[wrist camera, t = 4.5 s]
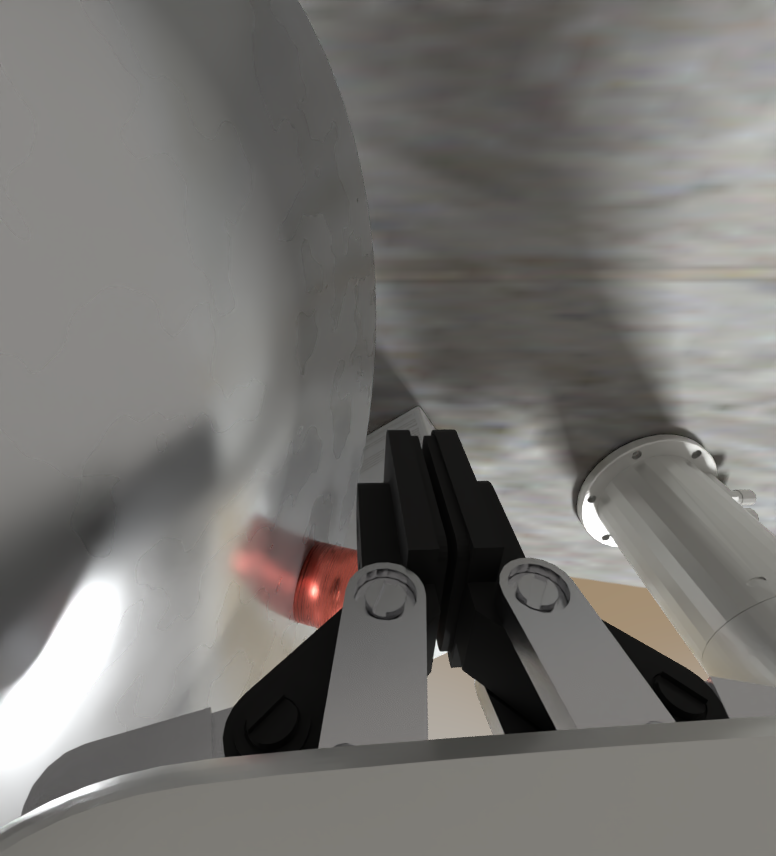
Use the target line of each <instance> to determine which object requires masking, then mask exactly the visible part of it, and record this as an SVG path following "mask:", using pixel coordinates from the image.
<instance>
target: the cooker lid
mask: <svg viewBox="0 0 776 856" xmlns="http://www.w3.org/2000/svg"><path fill="white" fill-rule="evenodd" d="M375 341H376V292H375V269H374V255H373V243H372V234H371V226H370V217H369V210H368V204H367V198H366V192H365V186H364V180H363V175H362V171H361V166H360V162H359V158H358V153H357V149H356V145H355V140H354V137H353V133H352V130H351V127H350V123H349V120H348V116H347V113H346V110H345V106H344V103H343V100H342V97H341V94H340V92H339V89H338V86H337V84H336V81H335V78H334V76H333V73H332V70H331V68H330V65H329V62H328V60H327V58H326V55H325V53H324V51H323V49H322V47H321V45H320V43H319V41H318V38H317V36H316V34H315V32H314V30H313V28H312V26H311V24H310V22H309V19H308V17H307V15H306V13H305V12H304V10H303V8H302V7H301V5H300V3H299V2H298V0H0V828H2V827H3V826H5V825H6V824H8V823H10V822H11V821H13V820H15V819H17V818H19V817H21V813H22V809H23V806H24V804H25V801H26V799H27V797H28V795H29V792H30V790H31V788H32V786H33V784H34V783H35V782H36V781H37V779H38V778H39V777H40V776H41V774H42V773H43V772H44V771H45V769H46V768H47V767H48V766H49V765H50V764H52V763H53V762H54V761H56V760H57V759H58V758H59V757H61V756H62V755H63V754H64V753H66V752H68V751H70V750H72V749H74V748H77V747H79V746H81V745H83V744H86V743H89V742H93V741H96V740H100V739H103V738H106V737H110V736H113V735H117V734H120V733H124V732H127V731H130V730H134V729H137V728H141V727H144V726H148V725H151V724H154V723H158V722H161V721H165V720H168V719H172V718H175V717H178V716H182V715H185V714H189V713H192V712H196V711H199V710H202V709H206V708H209V707H211V710H212V713H214V712H217V711H220V710H224V709H227V708H231V707H233V706H234V705H235V704H236V703H237V702H238V701H239V700H240V698H241V697H242V696H243V695H244V694H245V693H246V692H247V691H248V690H250V689H251V688H252V687H253V686H254V685H255V684H256V683H257V682H259V681H260V680H261V679H262V678H263V677H264V676H265V675H267V674H268V673H269V672H270V671H271V670H272V669H273V668H274V667H276V666H277V665H278V664H279V663H280V662H281V661H282V660H284V659H285V658H286V657H287V656H288V655H289V654H290V653H291V652H293V651H294V650H295V649H296V648H297V647H298V646H299V645H301V644H302V643H303V642H304V641H305V640H306V639H307V638H308V637H310V636H311V635H312V634H313V633H314V632H315V630H316V628H320V627H321V626H322V625H323V624H324V623H325V622H327V621H328V620H329V619H330V618H331V617H332V616H333V615H334V614H336V613H337V612H338V611H339V610H340V609H341V608H342V607H343V602H344V596H345V590H346V587H347V585H348V582H349V580H350V578H351V577H352V576H353V575H354V574H355V573H356V572H357V571H358V561H357V550H355V549H350V548H346V547H343V544H344V541H345V537H346V533H347V529H348V525H349V521H350V517H351V513H352V509H353V505H354V500H355V496H356V491H357V483H358V482H359V477H360V472H361V466H362V461H363V456H364V450H365V443H366V437H367V430H368V423H369V415H370V407H371V398H372V387H373V376H374V361H375Z"/></svg>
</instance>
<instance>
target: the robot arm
mask: <svg viewBox="0 0 776 856" xmlns="http://www.w3.org/2000/svg"><path fill="white" fill-rule="evenodd" d="M717 474H718V473H717V467H716V463H715V461H714V459H713V457H712V455H711V454H710V453H709V452H708V451H707V450H706V449H705V448H704V447H702V446H701V445H700V444H698V443H697V442H696V441H694V440H692V439H689V438H687V437H684V436H679V435H655V436H649V437H645V438H642V439H639V440H636V441H633V442H631V443H628V444H626V445H624V446H622V447H620V448H619V449H617V450H615V451H614V452H612V453H611V454H609V455H608V456H607V457H606V458H604V459H603V460H602V461H601V462H600V463H599V464H598V465H597V466H596V467H595V468H594V469H593V470H592V471H591V473H590V474H589V475H588V477H587V478H586V480H585V482H584V483H583V485H582V487H581V490H580V493H579V495H578V501H577V511H578V516H579V519H580V521H581V523H582V525H583V526H584V528H585V529H586V531H587V532H588V533H589V534H590V535H591V536H592V537H593V538H594V539H595V540H597V541H599V542H600V543H603V544H606V545H609V546H614V547H618V548H619V549H620V550H621V552H622V553H623V555H624V556H625V558H626V559H627V560H628V562H629V563H630V565H631V566H632V568H633V569H634V570H635V572H636V573H637V575H638V576H639V578H640V579H641V580H642V582H643V583H644V585H645V586H646V588H647V589H648V590H649V592H650V593H651V594H652V596H653V597H654V599H655V600H656V602H657V603H658V605H659V606H660V607H661V609H662V610H663V611H664V613H665V615H666V616H667V617H668V619H669V620H670V622H671V623H672V624H673V626H674V627H675V629H676V630H677V632H678V633H679V634H680V636H681V637H682V639H683V640H684V642H685V643H686V645H687V646H688V647H689V649H690V650H691V652H692V653H693V655H694V656H695V657H696V659H697V660H698V662H699V663H700V664H701V666H702V667H703V669H704V670H705V671H706V673H707V674H708V676H709V678H708V680H707V681H706V682H705V681H703V680H702V679H701V678H700V677H699V676H697V675H696V674H694V673H693V672H691V671H690V670H688V669H687V668H686V667H684V666H682V665H680V664H679V663H677V662H675V661H673V660H672V659H670V658H668V657H666V656H664V655H663V654H661V653H659V652H657V651H656V650H654V649H652V648H651V647H649V646H647V645H645V644H644V643H642V642H640V641H638V640H637V639H635V638H633V637H631V636H630V635H628V634H626V633H624V632H623V631H621V630H619V629H617V628H616V627H614V626H612V625H610V624H609V623H607V622H605V621H603V620H602V619H600V617H599V616H598V615H597V614H596V612H595V610H594V609H593V608H592V606H591V605H590V604H589V602H588V601H587V599H586V598H585V597H584V595H583V594H582V593H581V591H580V590H579V589H578V587H577V586H576V584H575V583H574V582H573V580H572V579H571V578H570V577H569V576H568V575H567V574H566V573H565V572H564V571H562V570H561V569H559V568H558V567H557V566H555V565H553V564H551V563H548V562H546V561H544V560H540V559H535V558H525V555H524V553H523V551H522V549H521V547H520V545H519V542H518V540H517V538H516V536H515V534H514V531H513V529H512V527H511V525H510V523H509V521H508V518H507V516H506V514H505V512H504V510H503V507H502V505H501V503H500V501H499V499H498V496H497V494H496V492H495V490H494V488H493V486H492V484H491V483H490V482H489V481H477V480H476V478H475V475H474V473H473V471H472V468H471V466H470V463H469V461H468V459H467V456H466V454H465V451H464V449H463V447H462V444H461V442H460V439H459V437H458V435H457V432H456V430H432V432H431V435H428V436H424V437H423V443H422V448H421V444H420V440H419V437H418V436H411V433H410V430H387V432H386V445H385V463H384V481H383V483H357V499H356V535H357V561H358V571H357V572H356V573H355V574H354V575H353V576H352V577H351V578H350V580H349V582H348V585H347V587H346V590H345V596H344V602H343V607H342V608H341V609H340V610H339V611H338V612H337V613H336V614H334V615H333V616H332V617H331V618H330V619H329V620H328V621H327V622H325V623H324V624H323V625H322V626H321V627H320V628H319V629H318V630H316V631H315V632H314V633H313V634H312V635H311V636H310V637H308V638H307V639H306V640H305V641H304V642H303V643H302V644H301V645H299V646H298V647H297V648H296V649H295V650H294V651H293V652H291V653H290V654H289V655H288V656H287V657H286V658H285V659H284V660H282V661H281V662H280V663H279V664H278V665H277V666H276V667H274V668H273V669H272V670H271V671H270V672H269V673H268V674H267V675H265V676H264V677H263V678H262V679H261V680H260V681H259V682H257V683H256V684H255V685H254V686H253V687H252V688H251V689H250V690H248V691H247V692H246V693H245V694H244V695H243V696H242V697H241V698H240V700H239V701H238V702H237V703H236V704H235V705H234V706H233V707H231V708H227V709H224V710H220V711H217V712H214V713H212V710H211V707H209V708H206V709H202V710H199V711H196V712H192V713H189V714H185V715H182V716H178V717H175V718H172V719H168V720H165V721H161V722H158V723H154V724H151V725H148V726H144V727H141V728H137V729H134V730H130V731H127V732H124V733H120V734H117V735H113V736H110V737H106V738H103V739H100V740H96V741H93V742H89V743H86V744H83V745H81V746H79V747H77V748H74V749H72V750H70V751H68V752H66V753H64V754H63V755H62V756H61V757H59V758H58V759H57V760H56V761H54V762H53V763H52V764H50V765H49V766H48V767H47V768H46V769H45V771H44V772H43V773H42V774H41V776H40V777H39V778H38V779H37V781H36V782H35V783H34V784H33V786H32V788H31V790H30V792H29V795H28V797H27V799H26V801H25V804H24V806H23V809H22V813H21V817H19V818H17V819H15V820H13V821H11V822H10V823H8V824H6V825H5V826H3V827H2V828H0V856H776V536H775V535H774V534H773V533H772V532H770V531H769V530H768V529H767V528H766V527H765V526H764V525H762V524H761V523H760V522H759V518H758V515H757V513H756V512H755V511H754V510H752V509H751V508H743V507H742V506H741V505H753V504H754V503H755V502H756V495H755V493H754V492H753V491H751V490H733V491H731V490H730V489H729V488H728V487H726V486H725V485H724V484H723V483H722V482H721V481H719V480H718V479H717ZM436 640H437V645H438V649H439V651H440V652H444V651H447V652H448V657H449V662H450V666H451V668H453V667H462V670H463V671H464V672H466V673H467V674H468V675H470V676H471V677H472V678H474V679H475V683H474V685H475V689H476V693H477V696H478V699H479V701H480V704H481V706H482V709H483V711H484V714H485V716H486V719H487V721H488V724H489V726H490V729H491V731H492V733H493V735H489V736H475V737H462V738H449V739H436V740H428V717H427V716H428V713H427V712H428V709H427V676H428V675H429V673H430V672H431V669H432V662H433V656H434V650H435V644H436Z"/></svg>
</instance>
